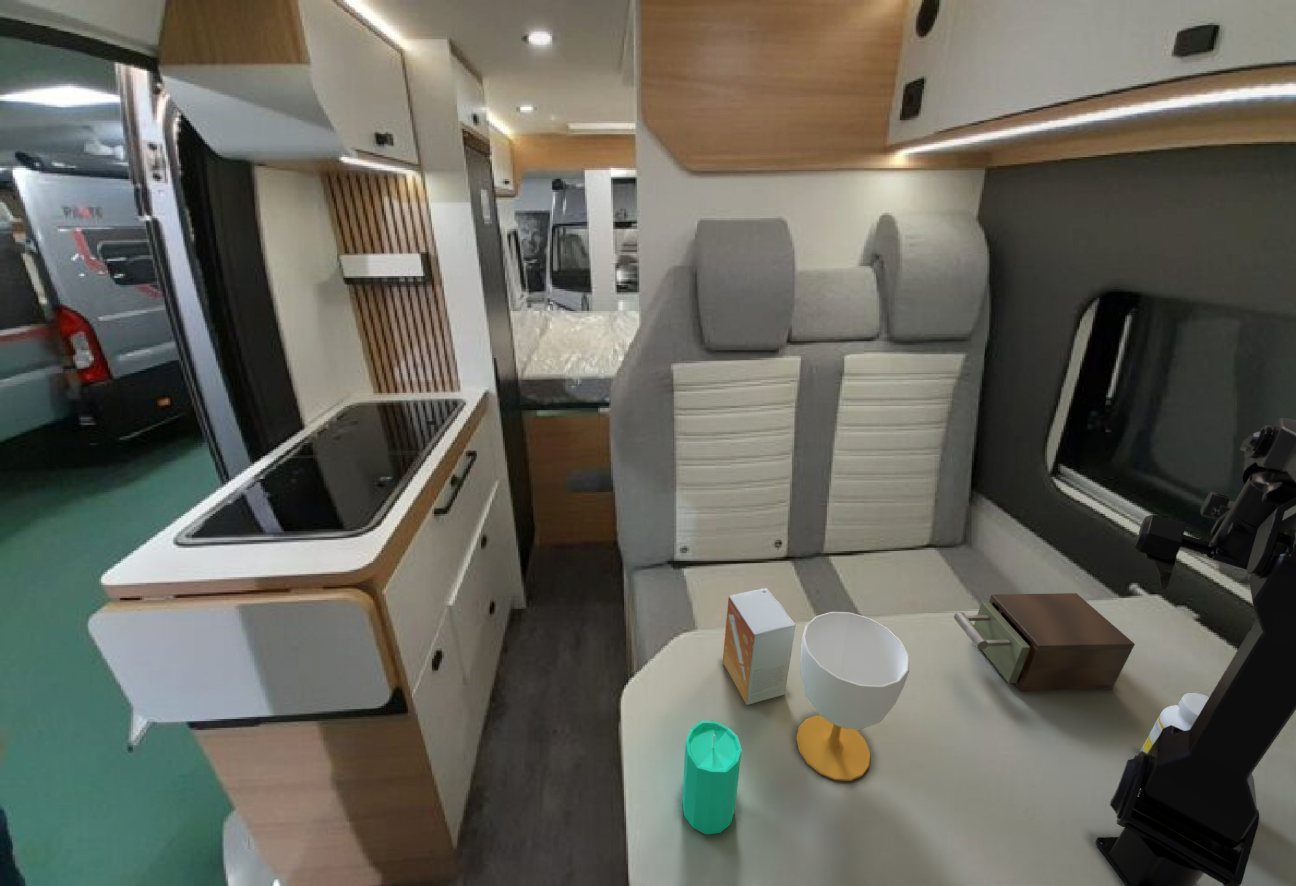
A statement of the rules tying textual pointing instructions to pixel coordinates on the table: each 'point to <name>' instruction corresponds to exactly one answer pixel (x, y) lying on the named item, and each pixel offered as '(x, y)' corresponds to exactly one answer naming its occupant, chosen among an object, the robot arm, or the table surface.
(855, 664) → the cup
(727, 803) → the candle
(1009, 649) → the drawer
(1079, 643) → the cabinet
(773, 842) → the table surface
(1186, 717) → the pill bottle
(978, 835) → the table surface
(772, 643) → the small box
